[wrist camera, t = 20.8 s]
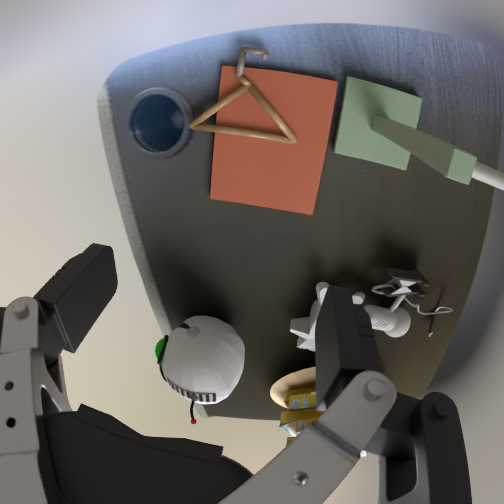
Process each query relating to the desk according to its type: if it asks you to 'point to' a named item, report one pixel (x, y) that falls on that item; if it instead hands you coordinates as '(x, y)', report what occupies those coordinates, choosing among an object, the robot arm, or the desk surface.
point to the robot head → (201, 360)
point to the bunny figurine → (314, 319)
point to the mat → (271, 152)
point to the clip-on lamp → (396, 317)
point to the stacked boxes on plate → (298, 402)
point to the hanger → (247, 86)
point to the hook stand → (399, 134)
